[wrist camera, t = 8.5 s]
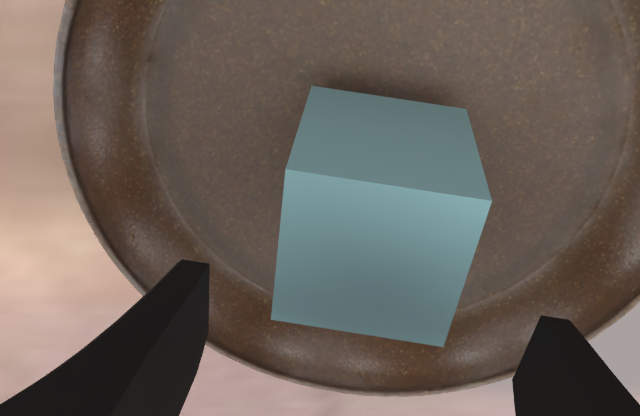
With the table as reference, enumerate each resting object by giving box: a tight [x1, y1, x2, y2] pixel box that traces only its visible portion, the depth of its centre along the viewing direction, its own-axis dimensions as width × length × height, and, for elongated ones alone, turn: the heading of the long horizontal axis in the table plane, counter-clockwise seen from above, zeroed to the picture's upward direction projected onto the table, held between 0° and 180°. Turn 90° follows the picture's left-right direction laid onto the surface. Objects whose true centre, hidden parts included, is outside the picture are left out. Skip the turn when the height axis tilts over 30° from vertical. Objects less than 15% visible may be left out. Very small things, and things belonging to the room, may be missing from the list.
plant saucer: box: [53, 0, 640, 397], centre depth 20 cm, size 21×21×3 cm
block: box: [271, 86, 492, 347], centre depth 16 cm, size 4×4×5 cm
